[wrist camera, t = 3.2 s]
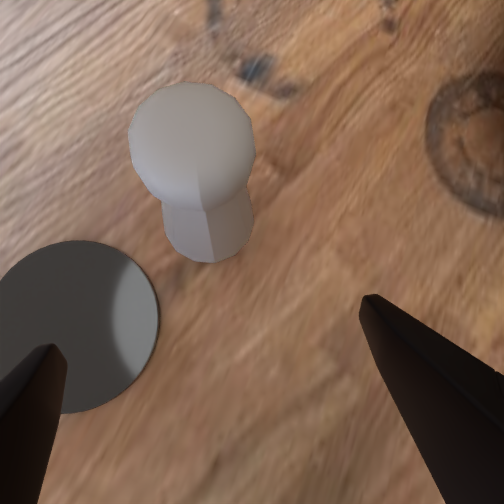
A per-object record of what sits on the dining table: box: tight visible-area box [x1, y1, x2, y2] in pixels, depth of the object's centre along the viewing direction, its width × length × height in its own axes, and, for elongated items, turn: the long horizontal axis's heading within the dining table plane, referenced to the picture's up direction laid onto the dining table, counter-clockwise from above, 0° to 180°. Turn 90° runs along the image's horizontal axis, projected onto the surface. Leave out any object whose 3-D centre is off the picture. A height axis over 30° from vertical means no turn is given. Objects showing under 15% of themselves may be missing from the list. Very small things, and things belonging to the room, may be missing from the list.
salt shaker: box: [128, 81, 256, 263], centre depth 16 cm, size 6×6×13 cm
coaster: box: [0, 241, 160, 414], centre depth 21 cm, size 11×11×1 cm
